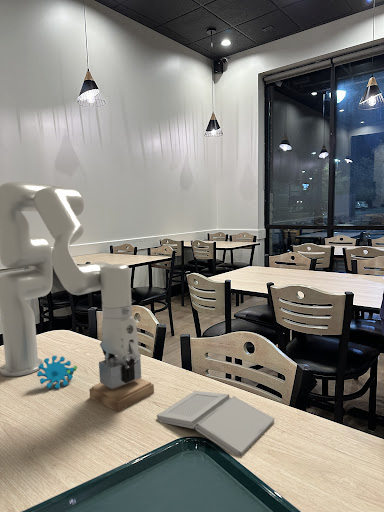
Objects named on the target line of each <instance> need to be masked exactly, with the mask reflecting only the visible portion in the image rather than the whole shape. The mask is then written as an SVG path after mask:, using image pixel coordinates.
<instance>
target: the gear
mask: <svg viewBox="0 0 384 512" xmlns="http://www.w3.org/2000/svg"><path fill="white" fill-rule="evenodd" d="M57 358H58V356H57V355H52V357H51V359H52V360H51V361H52V362H50V358H49V357H46V358H44V360H43V364H42V363H41V364H40V365H39V367H38V368H39V370H37V371H38V372H37V374H36V375H37V377H41V378H40V379H39V382H40V384H41V385H43V384H44V383H45V382H48V383H46V385H45V387H46V388H47V389H51V388H52V385H53V384H54V383H55V382H56V384H55V386H54V389H56V390H59V389H60V387H61V383H60V382H61V381H63V382H62V386H63V387H66V386H68V384H69V382H68V380H69V381H72V379H73V377H74V376H73V374H74V372H76V371H77V369H78V366H77V365H74V366H73V367H70V366H71V364H72V362H71V361H70V360H67V361H66V362H65V360H66V358H65V356H60V358H59V360H58V359H57ZM56 360H57V361H56ZM49 362H50V363H49ZM62 362H63V363H62ZM44 364H45V365H46V367H45V365H44ZM42 371H43V372H44V373H43V372H42ZM43 377H45V378H43ZM66 377H67V378H66ZM66 379H67V380H66Z"/></svg>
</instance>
